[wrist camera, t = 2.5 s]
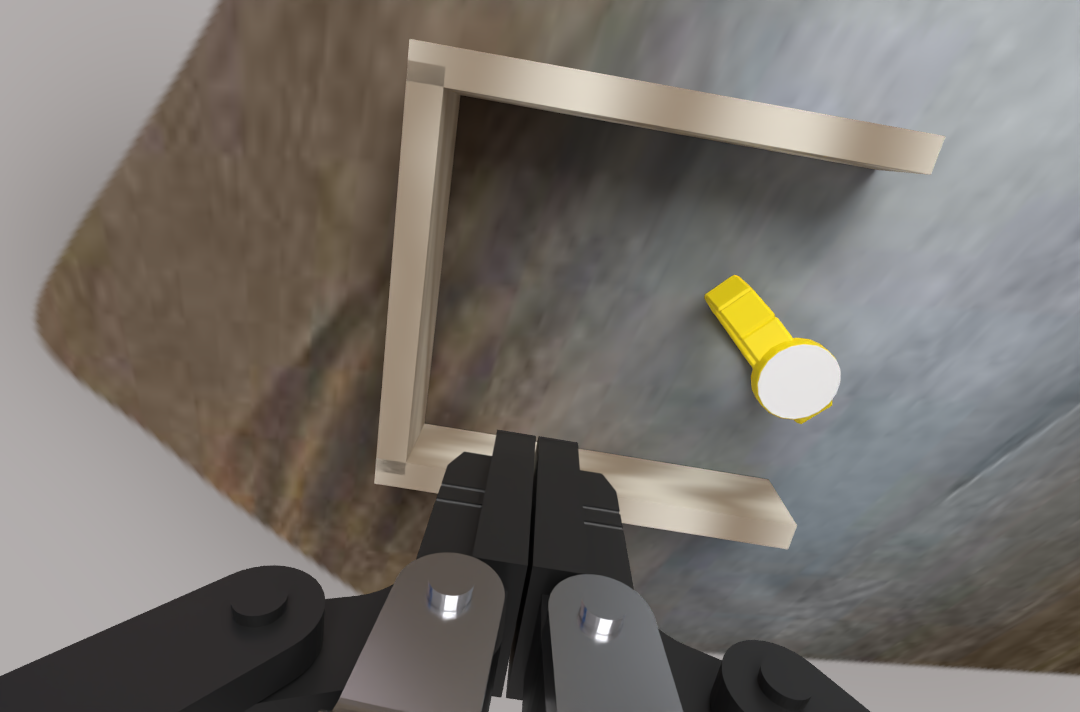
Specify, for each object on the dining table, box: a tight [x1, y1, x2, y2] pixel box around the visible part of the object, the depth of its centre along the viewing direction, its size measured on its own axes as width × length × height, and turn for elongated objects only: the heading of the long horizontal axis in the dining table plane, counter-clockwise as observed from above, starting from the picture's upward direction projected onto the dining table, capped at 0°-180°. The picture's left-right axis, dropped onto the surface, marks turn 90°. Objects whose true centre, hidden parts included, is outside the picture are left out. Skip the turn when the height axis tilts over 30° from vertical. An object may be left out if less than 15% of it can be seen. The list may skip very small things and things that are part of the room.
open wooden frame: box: [374, 39, 945, 549], centre depth 23 cm, size 17×16×4 cm
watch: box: [704, 275, 840, 424], centre depth 22 cm, size 6×3×6 cm, turn 38°
